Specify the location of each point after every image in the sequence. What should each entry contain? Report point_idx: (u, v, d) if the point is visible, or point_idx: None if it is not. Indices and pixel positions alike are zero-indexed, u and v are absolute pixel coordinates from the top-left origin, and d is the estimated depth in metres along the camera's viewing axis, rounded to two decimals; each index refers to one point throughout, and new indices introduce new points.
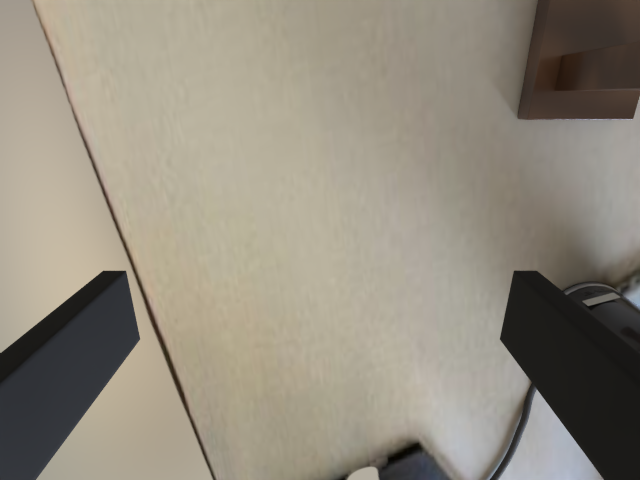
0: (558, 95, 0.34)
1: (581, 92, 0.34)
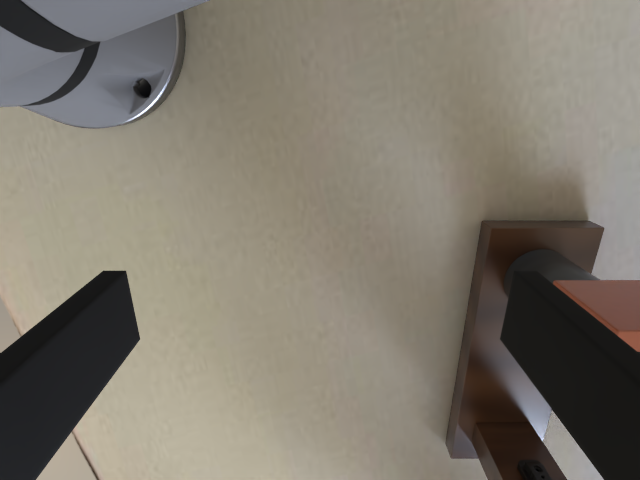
0: None
1: None
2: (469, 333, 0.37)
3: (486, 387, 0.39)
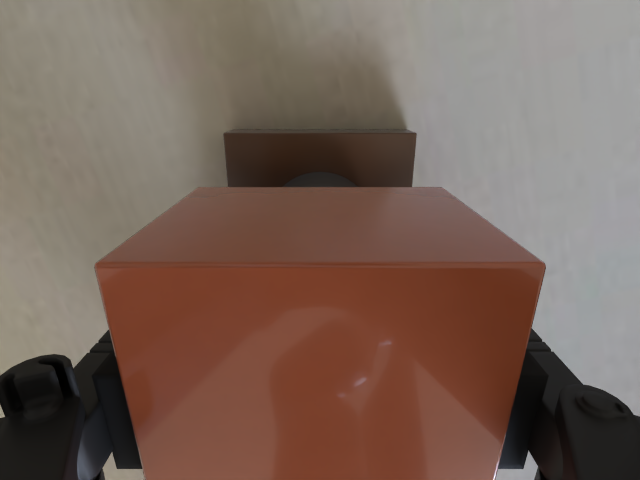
0: None
1: None
2: None
3: None
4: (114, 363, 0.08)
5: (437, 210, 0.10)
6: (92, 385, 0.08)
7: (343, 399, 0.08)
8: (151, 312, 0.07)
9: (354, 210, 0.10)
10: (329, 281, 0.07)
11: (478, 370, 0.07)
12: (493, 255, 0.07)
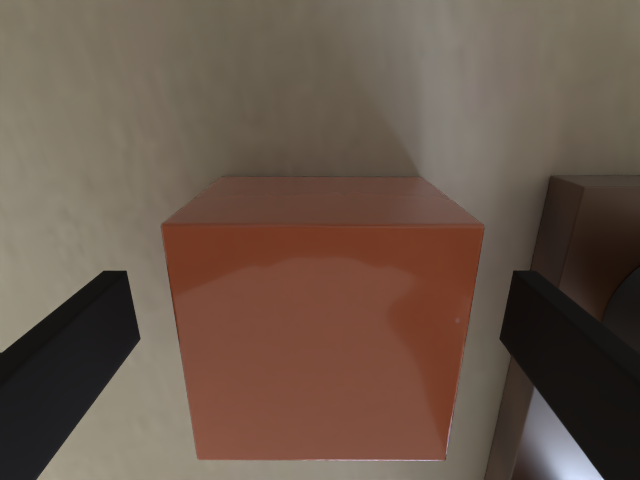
0: None
1: None
2: (515, 424, 0.17)
3: None
4: None
5: (414, 193, 0.12)
6: None
7: (339, 330, 0.10)
8: (199, 260, 0.09)
9: (349, 192, 0.12)
10: (328, 237, 0.09)
11: (439, 307, 0.10)
12: (448, 220, 0.09)
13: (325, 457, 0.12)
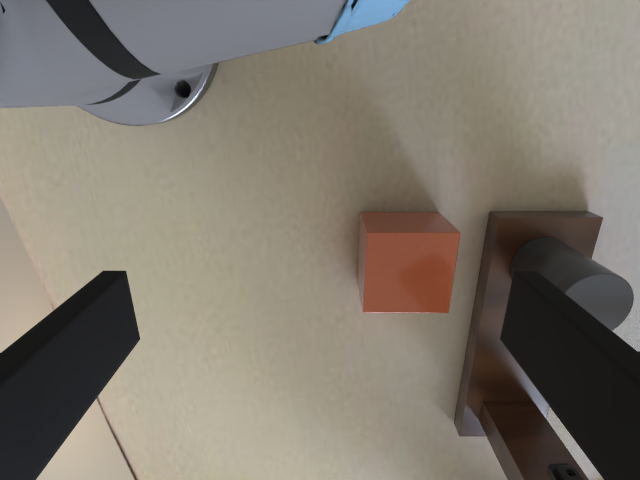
0: None
1: None
2: (478, 316, 0.40)
3: (492, 367, 0.42)
4: None
5: (437, 220, 0.35)
6: None
7: (415, 264, 0.33)
8: (376, 242, 0.32)
9: (414, 220, 0.35)
10: (415, 236, 0.32)
11: (446, 257, 0.33)
12: (449, 230, 0.32)
13: (407, 311, 0.35)
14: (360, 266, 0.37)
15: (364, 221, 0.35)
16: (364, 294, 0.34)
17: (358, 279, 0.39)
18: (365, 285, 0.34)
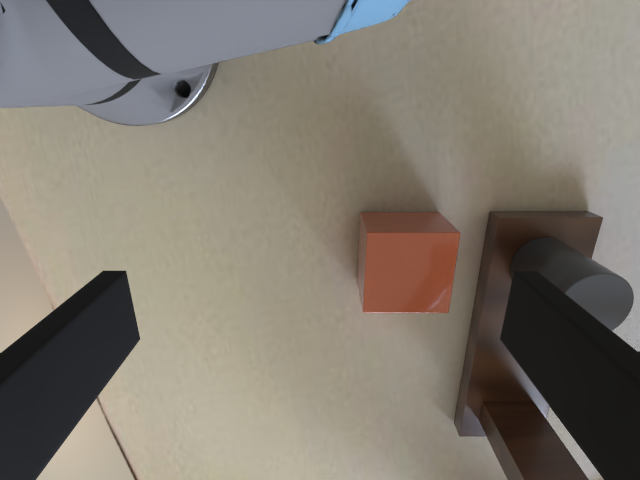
0: None
1: None
2: (478, 316, 0.40)
3: (492, 367, 0.42)
4: None
5: (437, 220, 0.35)
6: None
7: (415, 264, 0.33)
8: (376, 242, 0.32)
9: (414, 220, 0.35)
10: (415, 236, 0.32)
11: (446, 257, 0.33)
12: (449, 230, 0.32)
13: (407, 311, 0.35)
14: (360, 266, 0.37)
15: (364, 221, 0.35)
16: (364, 294, 0.34)
17: (358, 279, 0.39)
18: (365, 285, 0.34)
